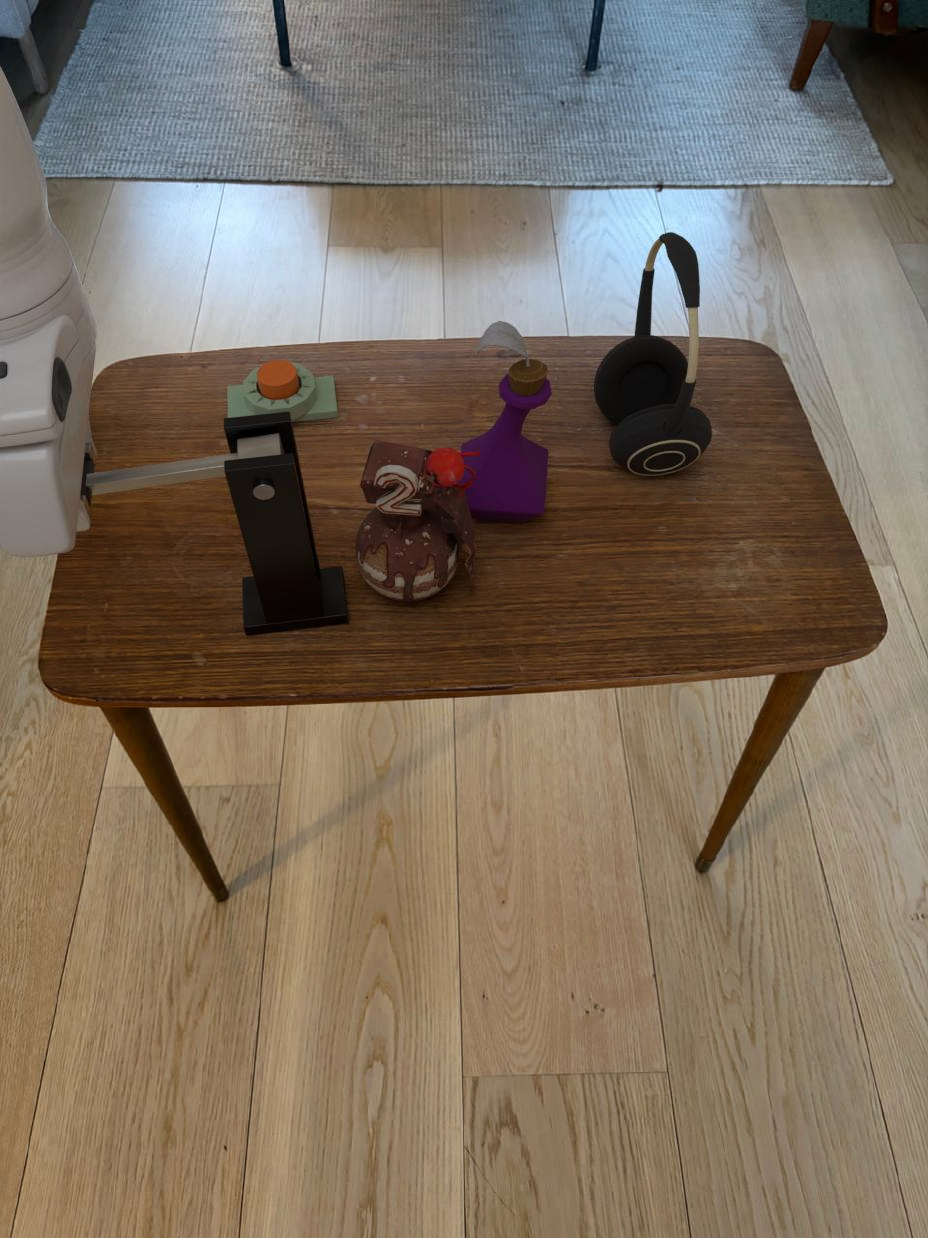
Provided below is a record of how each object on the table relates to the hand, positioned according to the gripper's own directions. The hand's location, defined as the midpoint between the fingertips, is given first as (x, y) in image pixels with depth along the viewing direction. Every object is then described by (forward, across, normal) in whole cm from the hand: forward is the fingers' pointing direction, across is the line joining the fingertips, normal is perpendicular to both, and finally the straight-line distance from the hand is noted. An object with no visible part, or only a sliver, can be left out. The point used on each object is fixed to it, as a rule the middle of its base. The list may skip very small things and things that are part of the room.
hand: (81, 493), depth 66 cm
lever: (0, 0, +7) cm, 7 cm away
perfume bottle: (+14, -8, +30) cm, 35 cm away
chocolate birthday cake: (+15, -1, +22) cm, 27 cm away
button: (+12, -24, +12) cm, 30 cm away
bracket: (+15, 0, +12) cm, 19 cm away
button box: (+14, -24, +12) cm, 31 cm away
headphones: (+14, -13, +44) cm, 48 cm away
